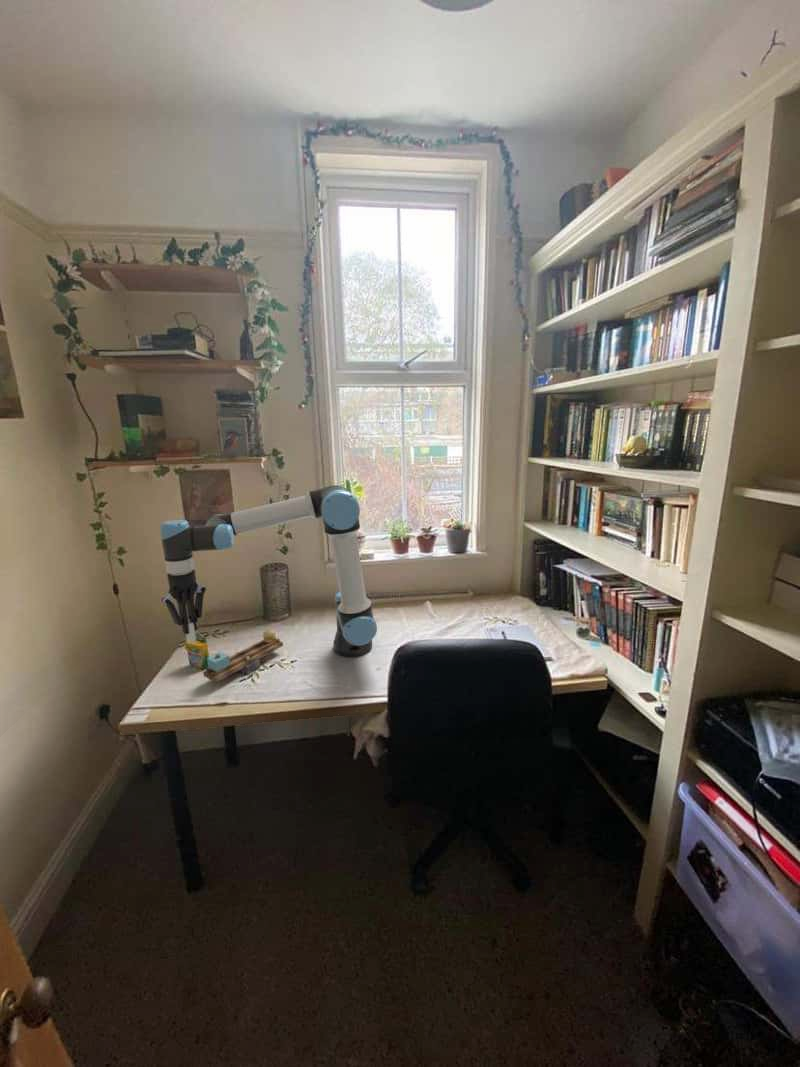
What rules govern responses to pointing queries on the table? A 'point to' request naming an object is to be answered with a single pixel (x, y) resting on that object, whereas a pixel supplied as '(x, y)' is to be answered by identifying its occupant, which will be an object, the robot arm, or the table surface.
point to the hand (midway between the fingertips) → (191, 641)
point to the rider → (218, 661)
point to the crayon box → (198, 653)
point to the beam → (247, 658)
